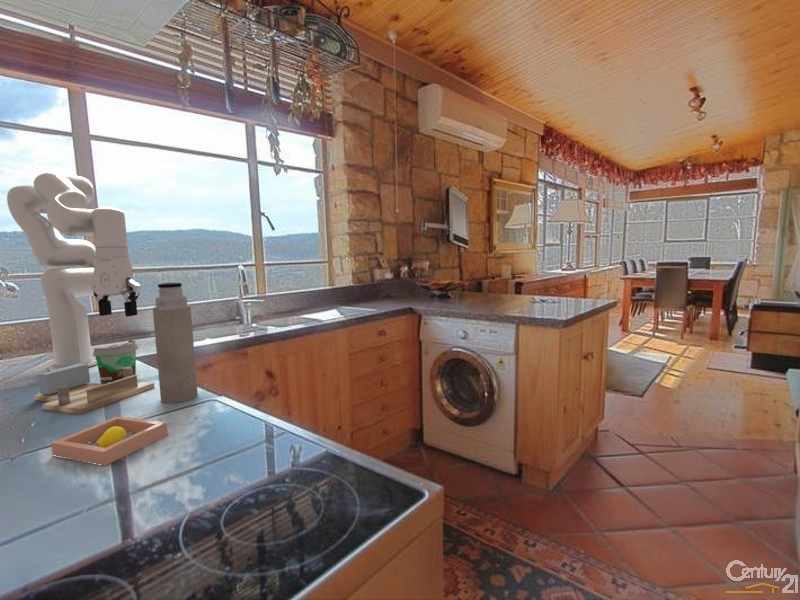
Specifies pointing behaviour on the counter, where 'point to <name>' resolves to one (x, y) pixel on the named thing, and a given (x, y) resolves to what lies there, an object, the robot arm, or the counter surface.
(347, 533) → the counter surface
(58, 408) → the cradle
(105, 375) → the food container
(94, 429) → the pink square frame
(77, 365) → the block
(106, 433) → the light bulb
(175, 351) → the thermos bottle
